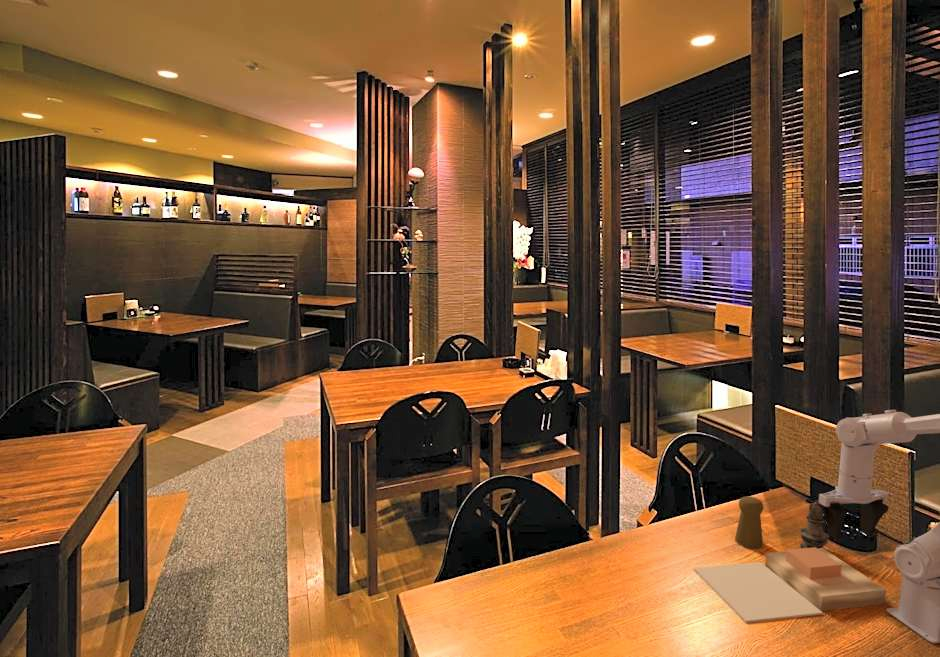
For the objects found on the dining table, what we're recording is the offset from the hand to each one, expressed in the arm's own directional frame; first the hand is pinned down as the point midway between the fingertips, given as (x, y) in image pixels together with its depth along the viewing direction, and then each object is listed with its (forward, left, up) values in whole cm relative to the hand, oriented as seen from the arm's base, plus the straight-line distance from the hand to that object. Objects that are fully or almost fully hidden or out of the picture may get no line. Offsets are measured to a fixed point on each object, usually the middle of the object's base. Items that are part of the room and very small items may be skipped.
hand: (850, 535), depth 116 cm
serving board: (-1, +7, -10) cm, 12 cm away
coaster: (0, +8, -5) cm, 10 cm away
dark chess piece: (+12, -2, -10) cm, 15 cm away
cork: (+17, +11, -10) cm, 22 cm away
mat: (-1, +22, -10) cm, 24 cm away
